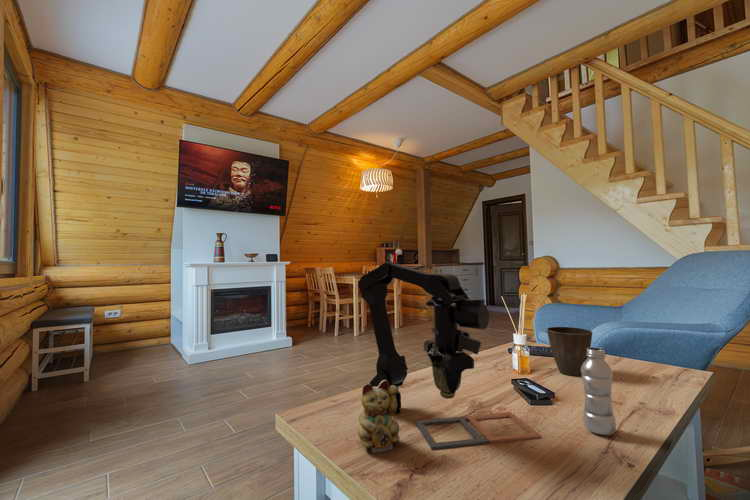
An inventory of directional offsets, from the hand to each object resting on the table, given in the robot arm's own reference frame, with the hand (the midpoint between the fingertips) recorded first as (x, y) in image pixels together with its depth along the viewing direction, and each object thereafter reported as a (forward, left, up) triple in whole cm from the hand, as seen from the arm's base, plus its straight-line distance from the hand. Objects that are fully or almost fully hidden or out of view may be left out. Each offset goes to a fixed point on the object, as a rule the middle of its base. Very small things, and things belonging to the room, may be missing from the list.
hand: (447, 388), depth 84 cm
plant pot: (+62, +34, -11) cm, 72 cm away
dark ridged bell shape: (0, 0, -2) cm, 2 cm away
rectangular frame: (+7, 0, -11) cm, 13 cm away
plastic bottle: (+36, -7, -11) cm, 38 cm away
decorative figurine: (-18, -2, -11) cm, 21 cm away
